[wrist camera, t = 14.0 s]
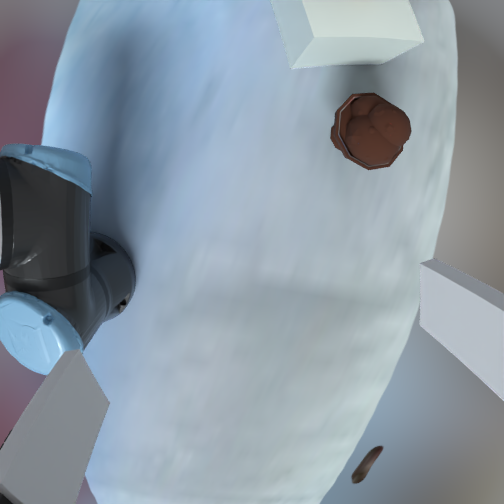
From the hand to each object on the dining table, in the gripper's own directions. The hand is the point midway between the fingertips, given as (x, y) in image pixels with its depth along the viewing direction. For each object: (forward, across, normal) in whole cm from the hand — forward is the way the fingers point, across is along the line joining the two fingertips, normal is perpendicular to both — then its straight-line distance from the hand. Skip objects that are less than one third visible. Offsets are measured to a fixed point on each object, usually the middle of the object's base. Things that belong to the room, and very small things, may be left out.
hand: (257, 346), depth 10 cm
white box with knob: (+38, +23, +28) cm, 53 cm away
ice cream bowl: (+39, +21, +7) cm, 45 cm away
